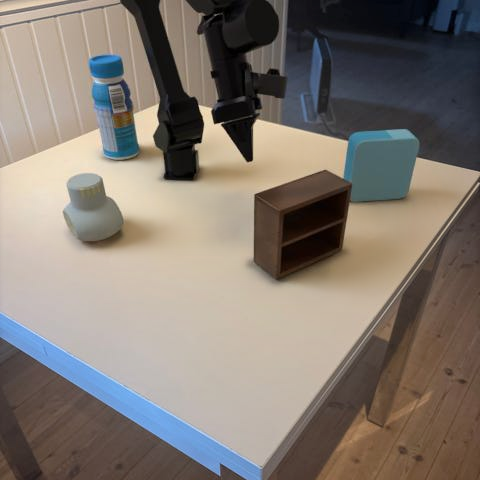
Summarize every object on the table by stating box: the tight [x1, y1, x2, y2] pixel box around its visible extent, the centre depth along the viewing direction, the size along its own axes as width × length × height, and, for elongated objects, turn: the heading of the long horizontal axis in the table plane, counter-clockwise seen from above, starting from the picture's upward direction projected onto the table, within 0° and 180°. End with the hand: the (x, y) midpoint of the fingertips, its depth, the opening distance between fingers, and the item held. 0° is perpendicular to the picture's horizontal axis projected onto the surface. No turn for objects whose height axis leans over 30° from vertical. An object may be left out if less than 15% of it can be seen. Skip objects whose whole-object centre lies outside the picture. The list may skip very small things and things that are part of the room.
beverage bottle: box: [88, 54, 140, 161], centre depth 106 cm, size 8×8×20 cm
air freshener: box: [62, 172, 125, 242], centre depth 84 cm, size 11×8×10 cm
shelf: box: [252, 169, 352, 280], centre depth 76 cm, size 6×14×12 cm, turn 125°
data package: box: [342, 128, 420, 203], centre depth 92 cm, size 12×4×12 cm, turn 97°
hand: (250, 161), depth 82 cm, fingers closed
